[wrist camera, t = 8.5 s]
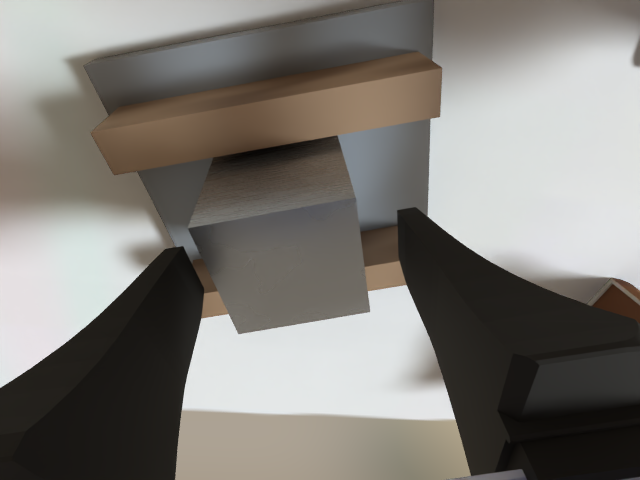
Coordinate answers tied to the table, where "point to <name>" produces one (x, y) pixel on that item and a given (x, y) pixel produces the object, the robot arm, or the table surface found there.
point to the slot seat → (282, 116)
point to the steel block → (282, 235)
